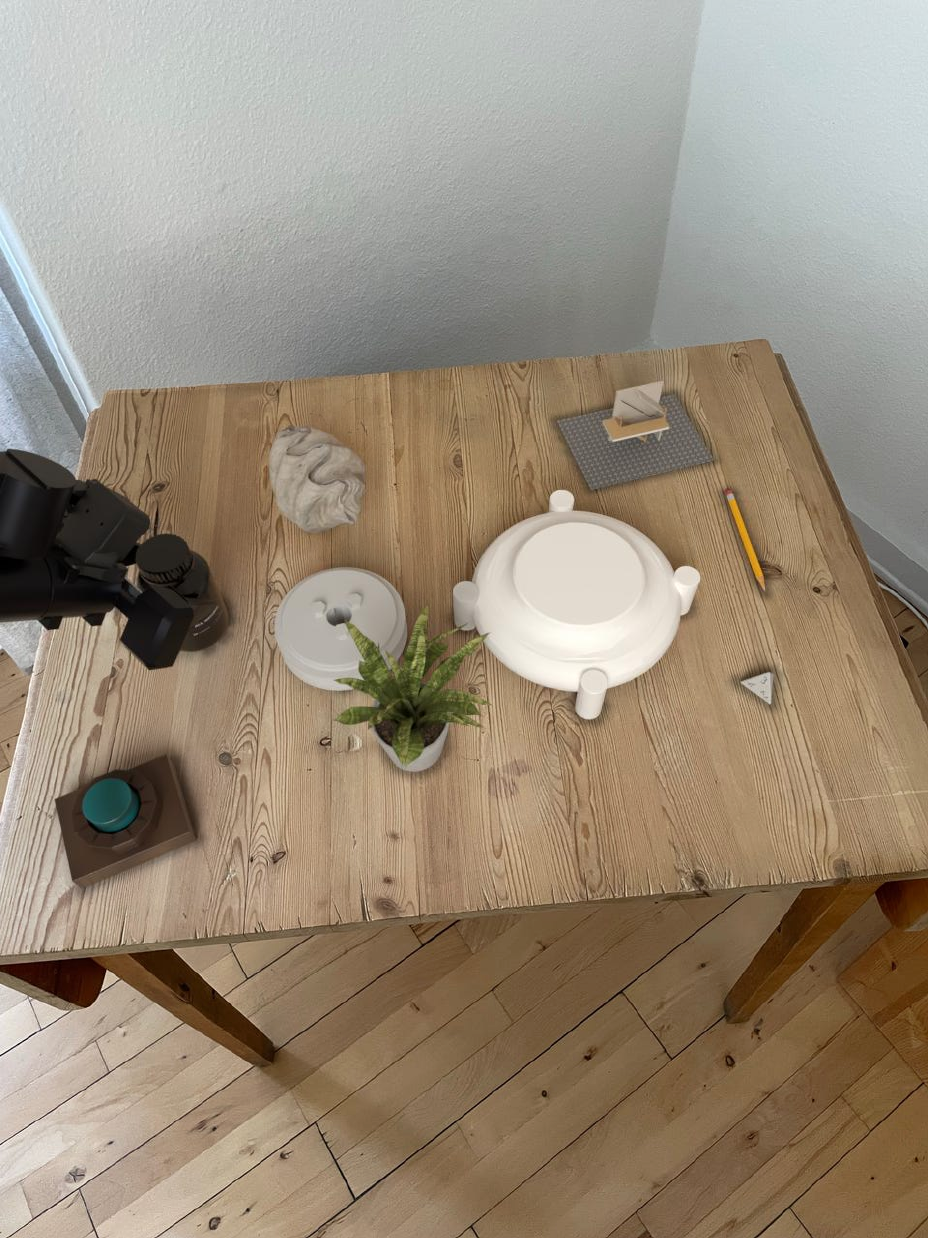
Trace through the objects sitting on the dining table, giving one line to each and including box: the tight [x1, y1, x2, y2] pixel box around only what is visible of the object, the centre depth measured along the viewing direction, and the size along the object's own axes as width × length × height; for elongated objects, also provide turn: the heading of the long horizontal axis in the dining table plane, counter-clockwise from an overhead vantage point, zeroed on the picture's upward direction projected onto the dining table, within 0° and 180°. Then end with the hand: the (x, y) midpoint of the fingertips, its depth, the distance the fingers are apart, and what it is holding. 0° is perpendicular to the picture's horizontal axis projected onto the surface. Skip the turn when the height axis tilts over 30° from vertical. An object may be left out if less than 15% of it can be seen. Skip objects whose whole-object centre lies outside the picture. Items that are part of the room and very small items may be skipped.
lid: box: [273, 566, 408, 692], centre depth 85 cm, size 13×13×5 cm
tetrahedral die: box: [740, 671, 774, 705], centre depth 83 cm, size 4×3×3 cm
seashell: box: [268, 424, 367, 534], centre depth 92 cm, size 10×15×10 cm
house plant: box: [332, 604, 492, 773], centre depth 73 cm, size 14×14×16 cm
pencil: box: [725, 489, 766, 592], centre depth 93 cm, size 1×13×1 cm, turn 6°
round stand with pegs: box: [452, 489, 701, 720], centre depth 85 cm, size 24×24×7 cm
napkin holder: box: [602, 380, 670, 443], centre depth 98 cm, size 3×7×7 cm, turn 106°
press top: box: [83, 778, 139, 832], centre depth 73 cm, size 4×4×2 cm
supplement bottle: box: [135, 532, 230, 653], centre depth 83 cm, size 7×7×12 cm
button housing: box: [54, 753, 197, 890], centre depth 75 cm, size 10×8×4 cm
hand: (181, 579), depth 82 cm, fingers open, 9 cm apart
